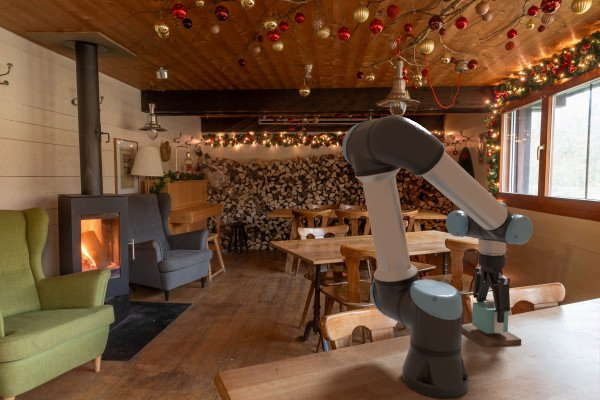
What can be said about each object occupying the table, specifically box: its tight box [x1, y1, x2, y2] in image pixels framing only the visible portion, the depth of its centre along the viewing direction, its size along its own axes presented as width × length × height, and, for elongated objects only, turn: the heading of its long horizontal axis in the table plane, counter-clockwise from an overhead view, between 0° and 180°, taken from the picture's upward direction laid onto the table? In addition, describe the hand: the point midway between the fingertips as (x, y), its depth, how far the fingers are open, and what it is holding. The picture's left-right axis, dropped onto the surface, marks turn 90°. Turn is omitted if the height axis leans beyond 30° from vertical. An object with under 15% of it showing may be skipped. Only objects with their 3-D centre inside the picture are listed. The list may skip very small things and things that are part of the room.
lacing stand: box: [462, 298, 522, 348], centre depth 119 cm, size 12×12×12 cm
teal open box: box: [471, 301, 509, 333], centre depth 119 cm, size 7×7×7 cm
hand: (489, 327), depth 120 cm, fingers closed on teal open box, 7 cm apart
